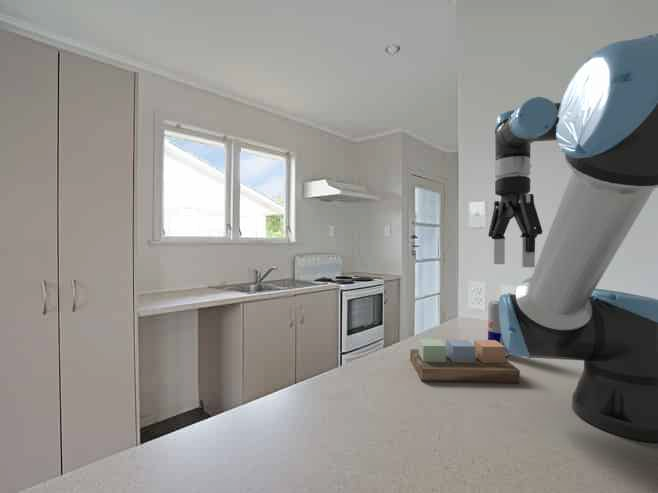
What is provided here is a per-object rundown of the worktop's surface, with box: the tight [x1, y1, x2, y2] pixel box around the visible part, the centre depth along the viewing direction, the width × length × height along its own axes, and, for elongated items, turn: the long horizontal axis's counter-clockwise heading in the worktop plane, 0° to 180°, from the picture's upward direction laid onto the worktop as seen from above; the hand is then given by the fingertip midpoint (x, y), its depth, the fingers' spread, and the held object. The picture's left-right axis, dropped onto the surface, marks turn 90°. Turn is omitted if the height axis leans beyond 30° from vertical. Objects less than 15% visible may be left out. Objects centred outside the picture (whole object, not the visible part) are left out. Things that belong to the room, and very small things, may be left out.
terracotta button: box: [473, 339, 506, 363], centre depth 86 cm, size 5×5×4 cm
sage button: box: [418, 338, 446, 362], centre depth 86 cm, size 5×5×4 cm
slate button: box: [445, 339, 476, 363], centre depth 86 cm, size 5×5×4 cm
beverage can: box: [487, 300, 511, 357], centre depth 98 cm, size 6×6×15 cm
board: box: [409, 348, 521, 384], centre depth 86 cm, size 14×22×3 cm, turn 87°
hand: (512, 265), depth 84 cm, fingers open, 13 cm apart
